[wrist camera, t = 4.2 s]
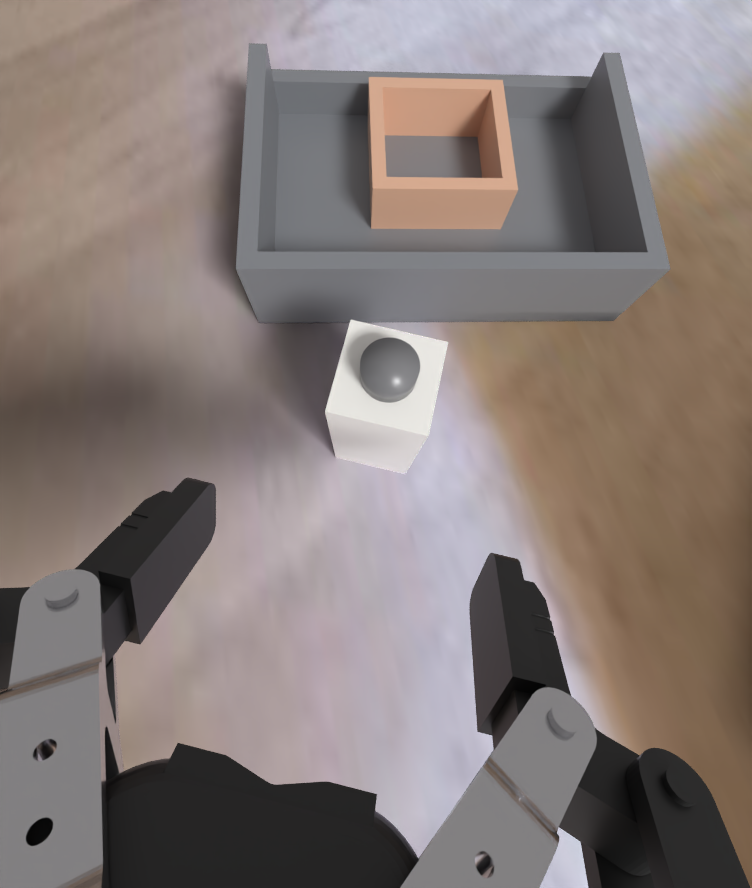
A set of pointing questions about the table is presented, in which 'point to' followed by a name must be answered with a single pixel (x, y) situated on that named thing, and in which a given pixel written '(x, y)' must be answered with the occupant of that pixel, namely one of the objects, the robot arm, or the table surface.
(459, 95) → the walled box
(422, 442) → the plug
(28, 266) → the table surface
